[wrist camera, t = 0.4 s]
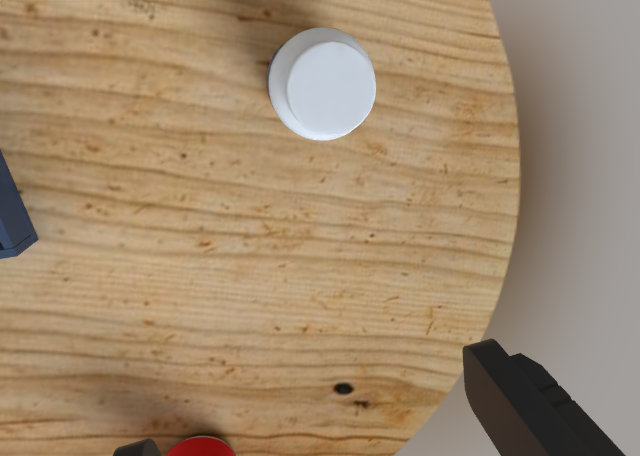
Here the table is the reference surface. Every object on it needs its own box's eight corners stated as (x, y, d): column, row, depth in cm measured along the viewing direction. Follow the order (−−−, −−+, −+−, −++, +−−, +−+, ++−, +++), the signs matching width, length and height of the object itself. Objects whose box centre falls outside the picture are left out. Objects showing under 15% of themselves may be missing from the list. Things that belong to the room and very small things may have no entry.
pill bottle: (296, 139, 28) (311, 174, 19) (249, 66, 26) (243, 68, 17) (364, 95, 28) (412, 110, 19) (322, 18, 26) (354, -7, 17)
